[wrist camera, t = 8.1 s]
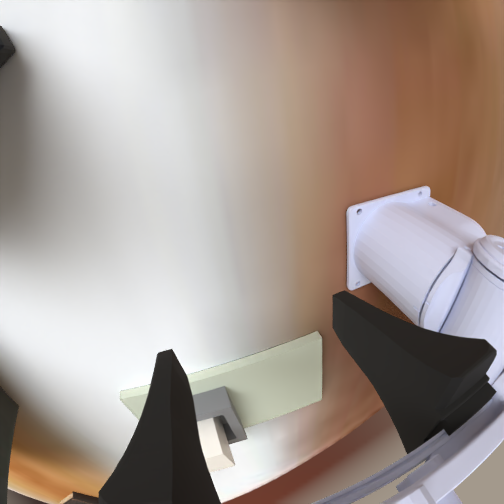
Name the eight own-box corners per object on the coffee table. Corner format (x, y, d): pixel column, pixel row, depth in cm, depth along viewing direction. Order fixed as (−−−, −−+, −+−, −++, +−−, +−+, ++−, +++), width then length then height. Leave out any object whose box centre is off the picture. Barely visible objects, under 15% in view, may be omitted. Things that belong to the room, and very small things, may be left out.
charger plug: (208, 402, 26) (222, 453, 21) (221, 419, 28) (235, 465, 23) (172, 413, 26) (181, 464, 21) (187, 428, 28) (198, 475, 23)
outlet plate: (317, 330, 27) (334, 355, 25) (318, 393, 34) (330, 414, 31) (119, 391, 24) (120, 420, 21) (166, 441, 30) (170, 464, 27)
